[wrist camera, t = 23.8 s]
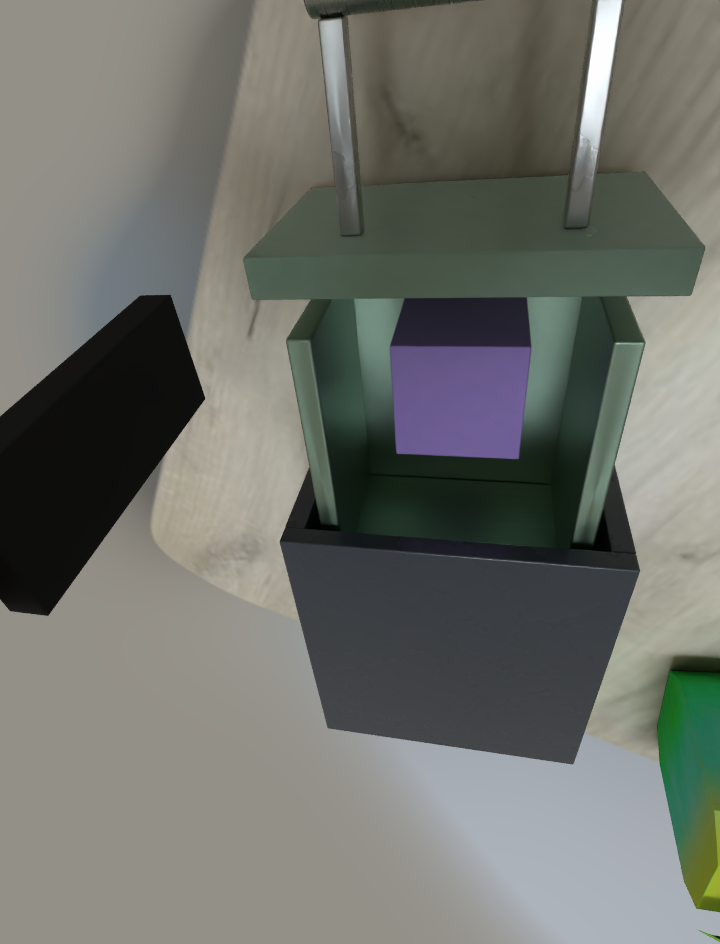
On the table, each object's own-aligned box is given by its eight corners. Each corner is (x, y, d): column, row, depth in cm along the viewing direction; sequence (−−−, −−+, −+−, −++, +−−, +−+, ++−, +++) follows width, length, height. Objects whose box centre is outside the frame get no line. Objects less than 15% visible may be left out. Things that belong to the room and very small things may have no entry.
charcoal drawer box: (332, 407, 28) (278, 541, 21) (603, 416, 25) (641, 571, 19) (359, 593, 37) (327, 728, 30) (559, 613, 35) (573, 765, 28)
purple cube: (526, 289, 20) (531, 346, 17) (516, 393, 23) (518, 459, 20) (406, 291, 21) (389, 346, 18) (410, 391, 24) (395, 454, 21)
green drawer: (280, -40, 17) (173, -55, 11) (702, -97, 14) (824, -151, 9) (347, 471, 29) (312, 581, 24) (579, 483, 27) (599, 608, 21)
